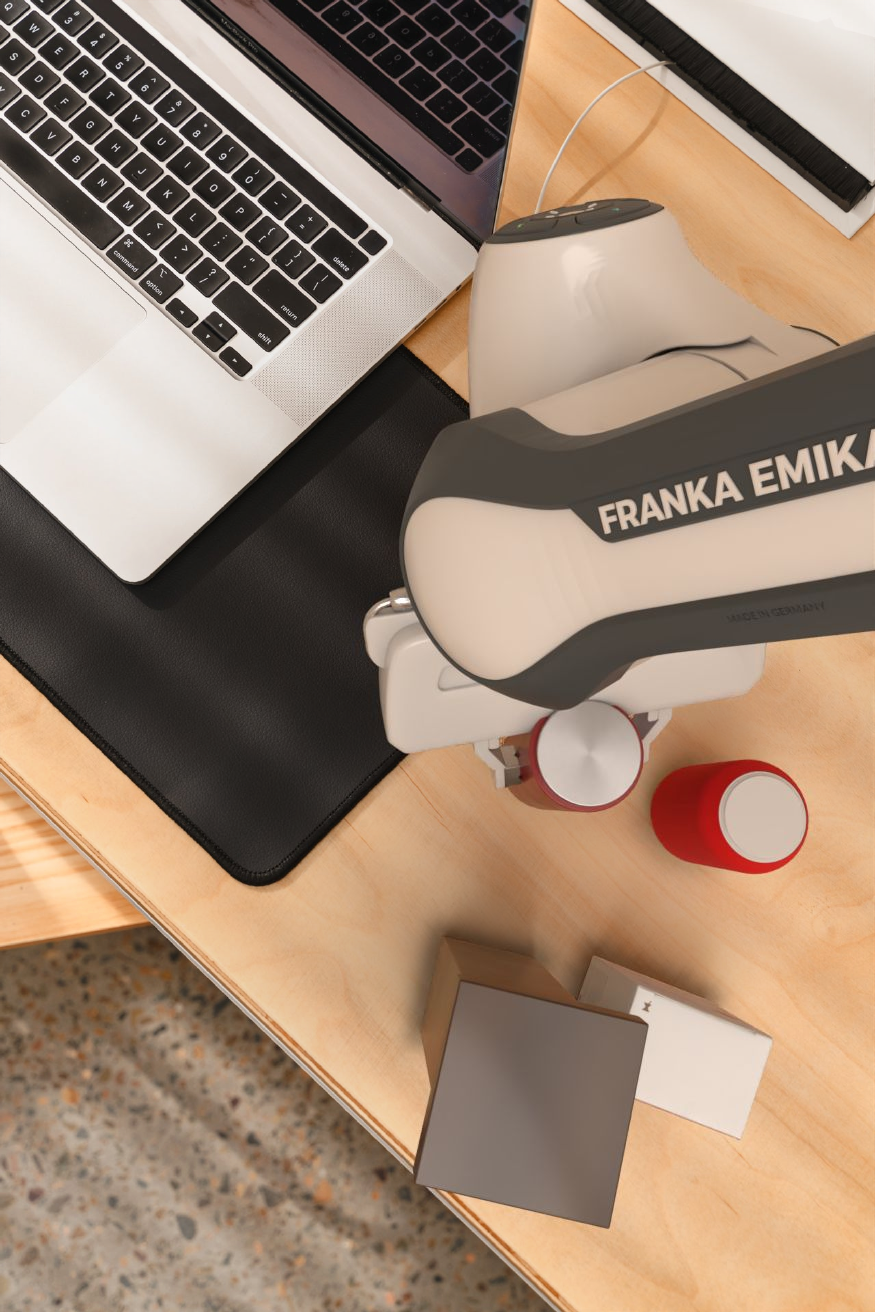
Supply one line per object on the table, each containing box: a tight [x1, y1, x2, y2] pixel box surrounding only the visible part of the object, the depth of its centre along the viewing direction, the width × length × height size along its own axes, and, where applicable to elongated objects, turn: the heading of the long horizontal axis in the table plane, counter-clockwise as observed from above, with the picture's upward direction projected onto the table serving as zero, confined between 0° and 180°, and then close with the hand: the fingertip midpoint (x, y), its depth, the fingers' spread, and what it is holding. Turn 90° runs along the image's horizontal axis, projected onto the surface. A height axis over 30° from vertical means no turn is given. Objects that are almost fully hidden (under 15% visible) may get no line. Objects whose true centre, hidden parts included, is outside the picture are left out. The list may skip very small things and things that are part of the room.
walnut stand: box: [412, 935, 649, 1230], centre depth 50 cm, size 8×8×22 cm
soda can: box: [502, 700, 644, 814], centre depth 56 cm, size 6×6×13 cm
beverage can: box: [649, 758, 810, 875], centre depth 57 cm, size 6×6×12 cm
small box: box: [576, 955, 774, 1141], centre depth 56 cm, size 8×6×10 cm
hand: (569, 768), depth 56 cm, fingers closed on soda can, 6 cm apart
